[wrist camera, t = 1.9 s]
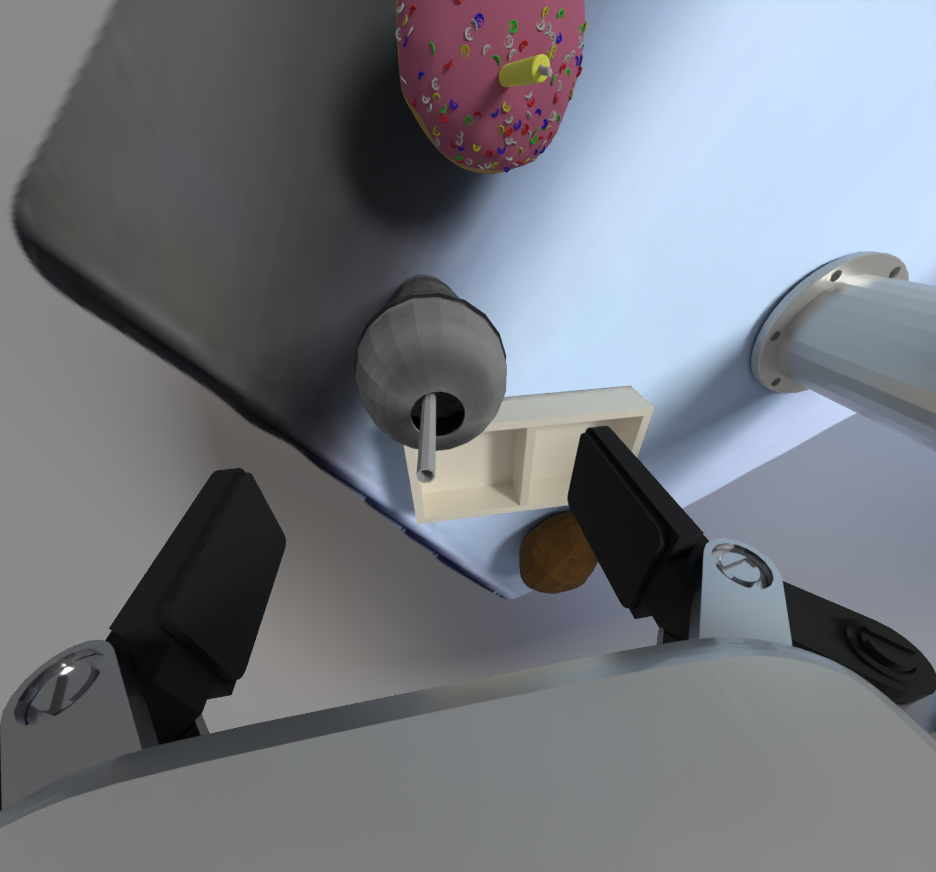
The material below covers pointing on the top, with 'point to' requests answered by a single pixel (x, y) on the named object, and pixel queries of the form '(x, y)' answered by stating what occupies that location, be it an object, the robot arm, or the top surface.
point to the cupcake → (489, 75)
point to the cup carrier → (524, 453)
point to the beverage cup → (430, 370)
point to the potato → (556, 555)
